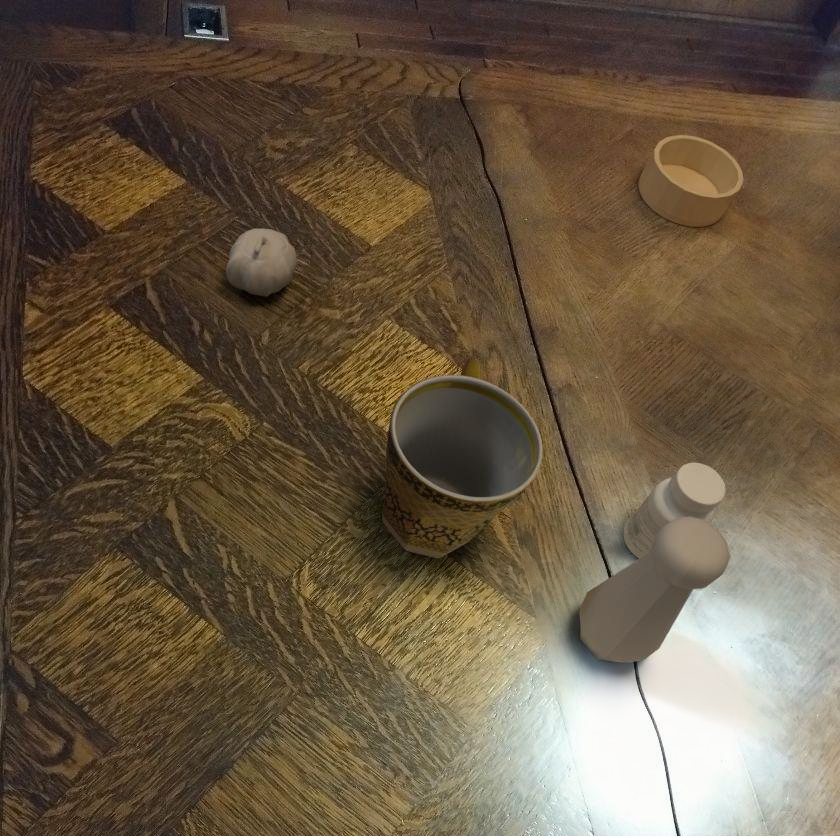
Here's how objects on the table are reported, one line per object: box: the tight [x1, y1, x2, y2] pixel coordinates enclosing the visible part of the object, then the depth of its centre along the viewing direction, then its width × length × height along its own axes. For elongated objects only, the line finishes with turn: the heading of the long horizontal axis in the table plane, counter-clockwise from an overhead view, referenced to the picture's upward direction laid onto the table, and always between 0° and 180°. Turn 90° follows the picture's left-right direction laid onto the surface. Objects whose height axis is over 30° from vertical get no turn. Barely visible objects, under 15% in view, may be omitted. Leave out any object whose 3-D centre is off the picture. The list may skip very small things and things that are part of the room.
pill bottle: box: [623, 462, 726, 560], centre depth 70 cm, size 4×4×8 cm
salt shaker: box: [578, 516, 731, 664], centre depth 63 cm, size 6×6×13 cm
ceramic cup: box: [381, 357, 543, 559], centre depth 68 cm, size 13×10×10 cm
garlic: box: [225, 227, 297, 298], centre depth 78 cm, size 6×5×5 cm
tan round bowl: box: [637, 134, 744, 228], centre depth 93 cm, size 9×9×4 cm
